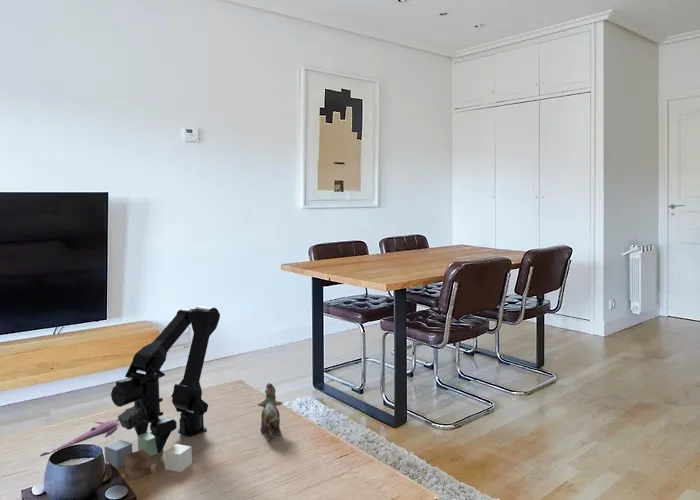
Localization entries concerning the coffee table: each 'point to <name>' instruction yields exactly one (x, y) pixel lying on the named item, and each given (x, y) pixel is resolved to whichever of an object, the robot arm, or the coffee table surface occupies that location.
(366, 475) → the coffee table surface
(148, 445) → the sage block
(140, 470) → the walnut block
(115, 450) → the slate block
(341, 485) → the coffee table surface
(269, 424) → the figurine
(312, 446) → the coffee table surface
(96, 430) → the toy
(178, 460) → the cream block
